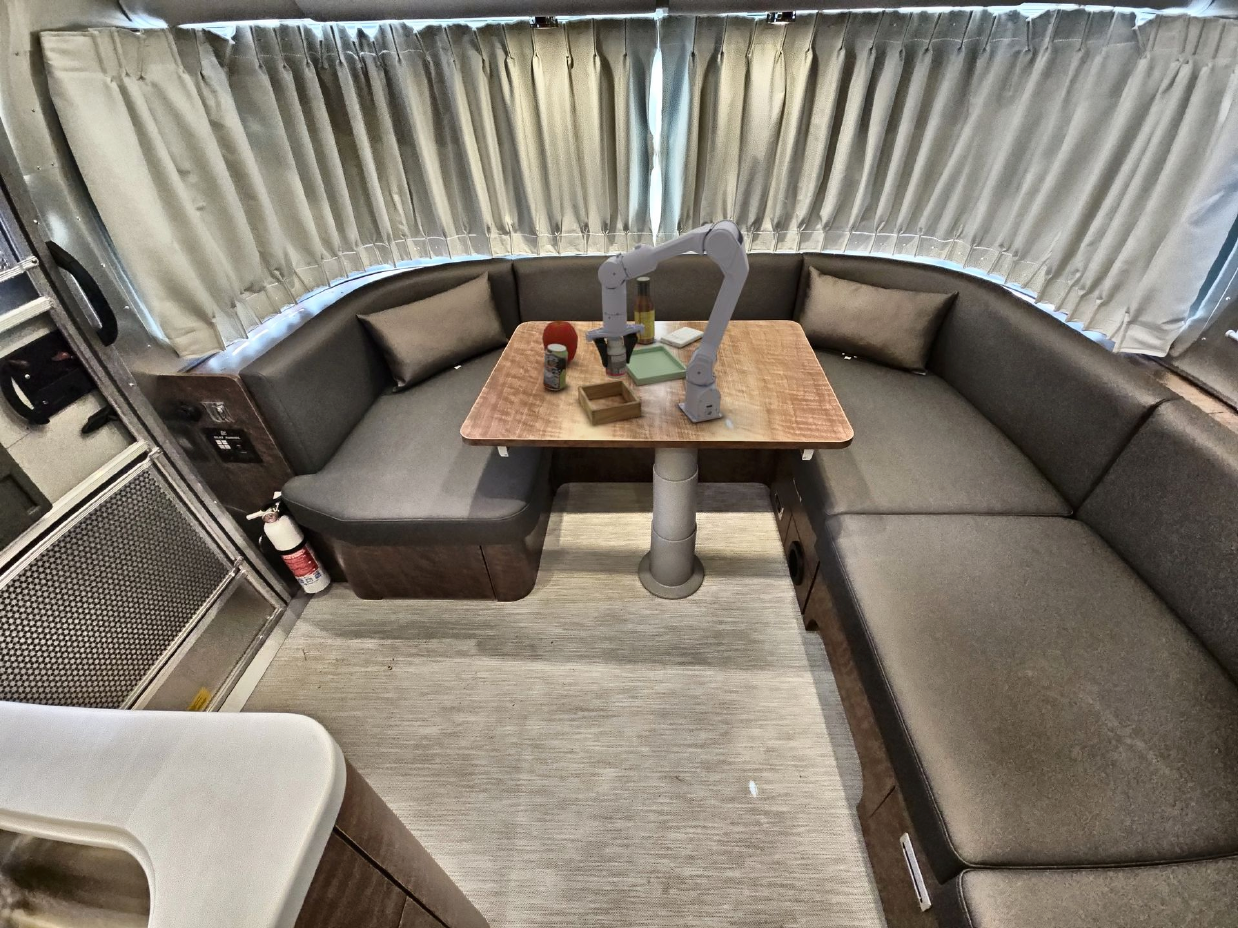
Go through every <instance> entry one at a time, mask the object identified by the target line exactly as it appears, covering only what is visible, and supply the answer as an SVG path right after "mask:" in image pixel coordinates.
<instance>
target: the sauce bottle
mask: <svg viewBox="0 0 1238 928" xmlns="http://www.w3.org/2000/svg"><path fill="white" fill-rule="evenodd" d="M636 285H637V295H636V297H635V300H634V310H633V311H634V324H642V325H644V334H640V333H638V334H637V337H638V342H637V343H638V344H641V345H648V344H652V343H654V342H655V336H656V328H655V327H656V323H655V304H654V301H653V297H652V294H651V278H650V277H648V276H639V277H637V279H636Z"/></svg>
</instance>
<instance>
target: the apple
mask: <svg viewBox="0 0 1238 928" xmlns="http://www.w3.org/2000/svg"><path fill="white" fill-rule="evenodd" d="M541 339H542V344H543V349H544V351H545V350H546V349H547V348H548V345H550V344H560V345H563V346H565V347H566V350H567V352H568V359H567V365H568V364H569V363H571V362H572V361H574V359H575V357H576V354H577V350H578V345H579V343H578V342H579V336H578V333H577V331H576V329H575V327H574V325H572V324H571V323H570V322H569V321H564V320H559V319H557V320H553V321H551V322H548V324H547V325H546V326H545V327H544V328H543V333H542V337H541Z"/></svg>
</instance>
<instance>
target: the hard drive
mask: <svg viewBox="0 0 1238 928" xmlns="http://www.w3.org/2000/svg"><path fill="white" fill-rule="evenodd" d="M704 332H705V331H701V330H698V329H694V328H691V327H689V326H682V327H681V328H679V329H677V330H675V331H673V332H670V333H668V334H666V335H663V336H662V337H660V342H661V343H664V344H667V345H669V346H672V347H675V348H679V349H680V348H683V347H685V346H687V345H689V344H691V343H693V342H695V341H698V340H699V339H702V337H703V334H704Z"/></svg>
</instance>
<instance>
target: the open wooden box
mask: <svg viewBox="0 0 1238 928" xmlns="http://www.w3.org/2000/svg"><path fill="white" fill-rule="evenodd" d="M577 395H578V401H579V403H580V406H581V407H582V408H583V410H584V412H585V414H586V416H587V418H588V419H589V421H590V423H591V425H592V426H596V425H601V424H606V423H611V422H617V421H623V420H627V419H634V418H638V417H642V401H641V400H640V399H639V398H638V396H637V395H636V393H635V392H634V391H633V390H632V388H631V387H630V385H629V384H628V383H627V381H626V380H625V379H624V378H620V379H614V380H609V381H602V382H598V383H591V384H586V385H580V386H577ZM619 395H622V396H623V398H624V399H625V401H626V403H621V404H620V403H619V404H614V405H608V406H603V407H598V408H595V407H594V406H593V405H592V403H591V401H590V400H595V399H601V398H607V397H612V396H619Z"/></svg>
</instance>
